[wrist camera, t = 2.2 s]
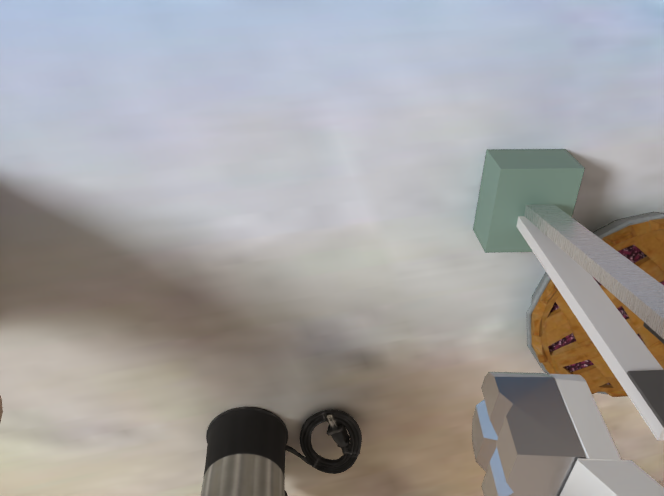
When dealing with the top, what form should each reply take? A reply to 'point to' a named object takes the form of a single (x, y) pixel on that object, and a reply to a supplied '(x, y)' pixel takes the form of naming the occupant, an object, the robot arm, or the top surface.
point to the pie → (564, 328)
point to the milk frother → (268, 451)
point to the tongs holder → (564, 262)
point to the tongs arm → (604, 265)
